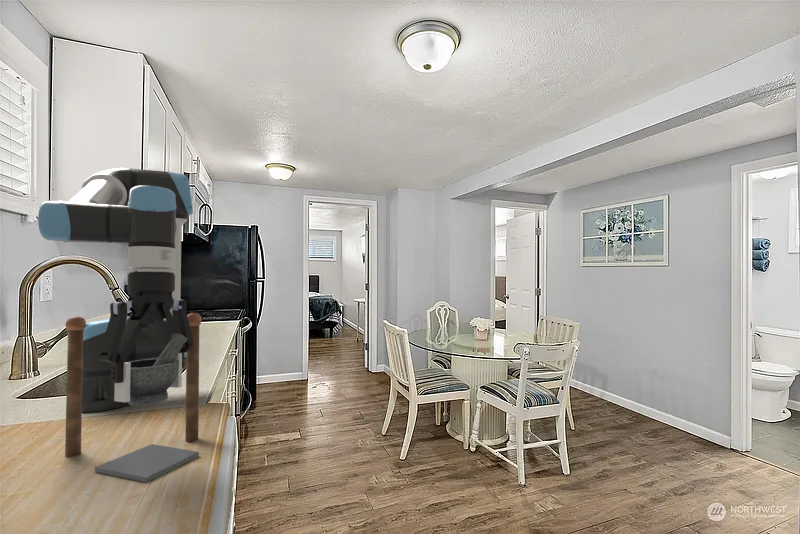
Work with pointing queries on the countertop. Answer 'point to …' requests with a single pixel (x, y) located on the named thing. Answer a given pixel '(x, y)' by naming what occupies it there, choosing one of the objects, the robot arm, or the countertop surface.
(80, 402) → the post
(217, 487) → the countertop surface
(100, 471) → the slate pad
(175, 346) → the mortar and pestle
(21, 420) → the countertop surface
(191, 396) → the post
